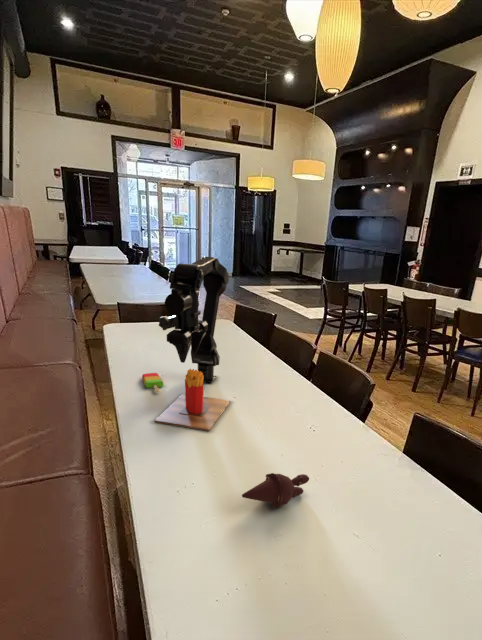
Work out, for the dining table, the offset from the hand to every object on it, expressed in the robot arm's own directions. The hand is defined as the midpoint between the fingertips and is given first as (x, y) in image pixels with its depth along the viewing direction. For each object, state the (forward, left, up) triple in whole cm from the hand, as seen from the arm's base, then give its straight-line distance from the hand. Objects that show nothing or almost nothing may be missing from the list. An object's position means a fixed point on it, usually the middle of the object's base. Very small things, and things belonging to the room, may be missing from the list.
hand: (188, 357), depth 128 cm
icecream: (+45, +37, -13) cm, 60 cm away
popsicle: (-4, -14, -13) cm, 20 cm away
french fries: (+10, +6, -12) cm, 17 cm away
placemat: (+10, +6, -13) cm, 17 cm away
